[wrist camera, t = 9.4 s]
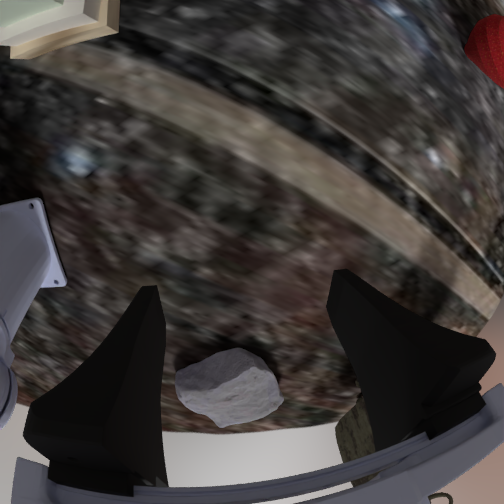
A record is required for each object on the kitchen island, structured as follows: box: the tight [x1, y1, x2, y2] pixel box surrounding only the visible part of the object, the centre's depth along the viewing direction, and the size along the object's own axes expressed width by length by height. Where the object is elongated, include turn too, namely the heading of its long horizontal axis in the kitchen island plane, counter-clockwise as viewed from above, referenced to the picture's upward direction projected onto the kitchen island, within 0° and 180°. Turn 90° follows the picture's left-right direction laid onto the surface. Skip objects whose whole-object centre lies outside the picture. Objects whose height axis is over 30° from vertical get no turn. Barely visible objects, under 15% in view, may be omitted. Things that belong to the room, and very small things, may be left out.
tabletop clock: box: [335, 379, 453, 504], centre depth 27 cm, size 14×9×25 cm, turn 156°
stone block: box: [175, 348, 284, 428], centre depth 31 cm, size 12×5×10 cm
